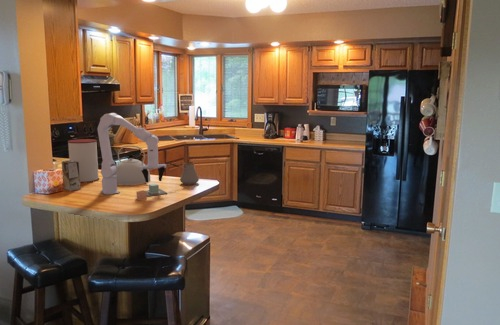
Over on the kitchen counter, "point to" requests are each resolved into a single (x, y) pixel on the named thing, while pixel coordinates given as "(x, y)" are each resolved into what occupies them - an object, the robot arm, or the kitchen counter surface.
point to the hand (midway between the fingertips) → (153, 181)
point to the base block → (153, 188)
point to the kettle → (131, 170)
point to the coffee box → (71, 175)
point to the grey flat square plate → (156, 193)
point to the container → (85, 158)
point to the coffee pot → (188, 173)
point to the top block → (141, 195)
